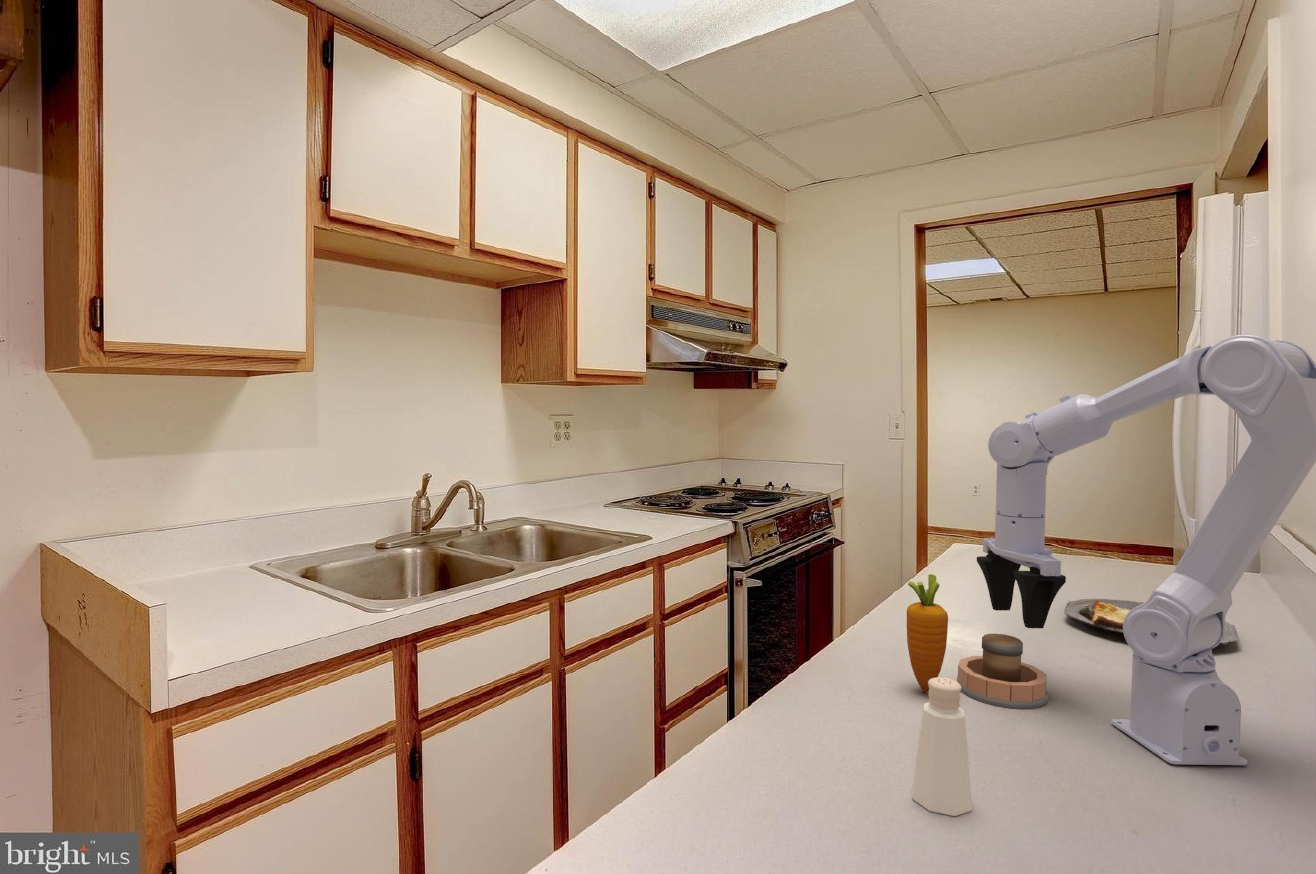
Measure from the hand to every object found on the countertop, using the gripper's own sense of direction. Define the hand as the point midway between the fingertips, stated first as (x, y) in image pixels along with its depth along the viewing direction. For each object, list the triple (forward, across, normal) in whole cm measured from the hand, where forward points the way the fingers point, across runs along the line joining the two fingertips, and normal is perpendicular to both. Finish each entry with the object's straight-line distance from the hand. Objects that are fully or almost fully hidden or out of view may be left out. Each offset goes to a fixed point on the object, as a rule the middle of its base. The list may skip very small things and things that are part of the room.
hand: (1016, 618), depth 89 cm
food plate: (+10, +24, -36) cm, 44 cm away
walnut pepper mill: (+8, -2, +3) cm, 9 cm away
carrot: (+9, -2, +13) cm, 16 cm away
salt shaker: (+9, -26, +22) cm, 35 cm away
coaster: (+9, -2, +3) cm, 10 cm away
